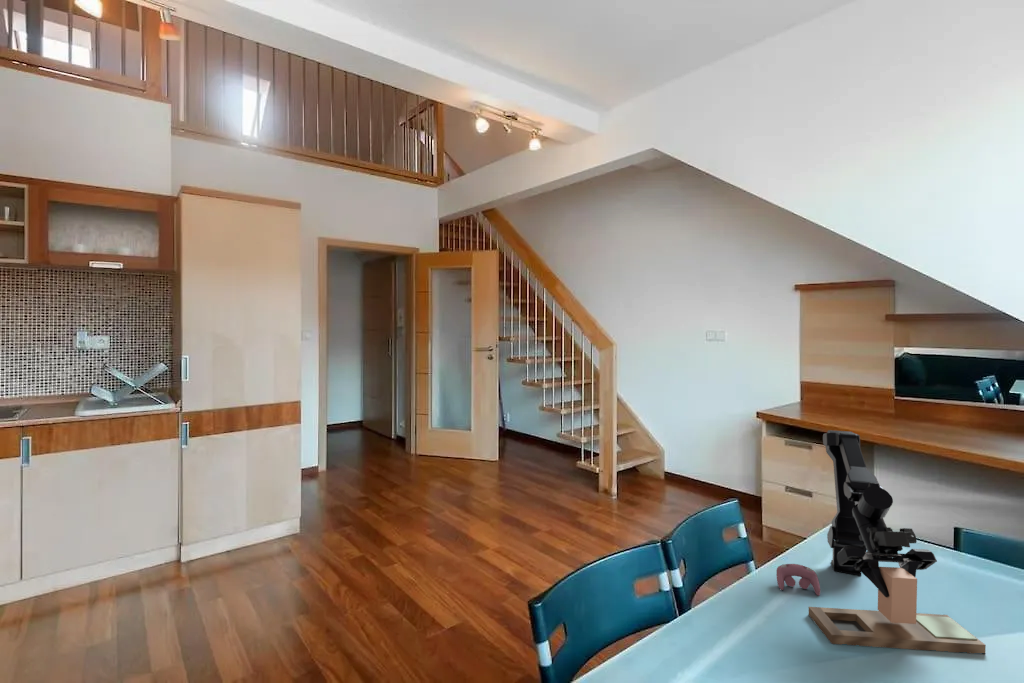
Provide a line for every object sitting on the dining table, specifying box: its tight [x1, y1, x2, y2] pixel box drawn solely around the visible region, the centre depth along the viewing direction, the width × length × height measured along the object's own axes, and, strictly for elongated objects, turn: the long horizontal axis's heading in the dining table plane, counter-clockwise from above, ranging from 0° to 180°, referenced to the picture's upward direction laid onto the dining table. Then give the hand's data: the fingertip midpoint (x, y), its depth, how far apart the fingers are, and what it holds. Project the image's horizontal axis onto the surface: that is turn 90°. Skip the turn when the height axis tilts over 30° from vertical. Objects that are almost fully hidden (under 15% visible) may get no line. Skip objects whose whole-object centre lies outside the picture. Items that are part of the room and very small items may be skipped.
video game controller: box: [776, 563, 821, 597], centre depth 133 cm, size 10×5×7 cm, turn 72°
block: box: [877, 566, 918, 624], centre depth 113 cm, size 5×5×10 cm
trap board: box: [808, 606, 986, 654], centre depth 113 cm, size 30×11×2 cm, turn 83°
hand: (900, 597), depth 111 cm, fingers closed on block, 5 cm apart
